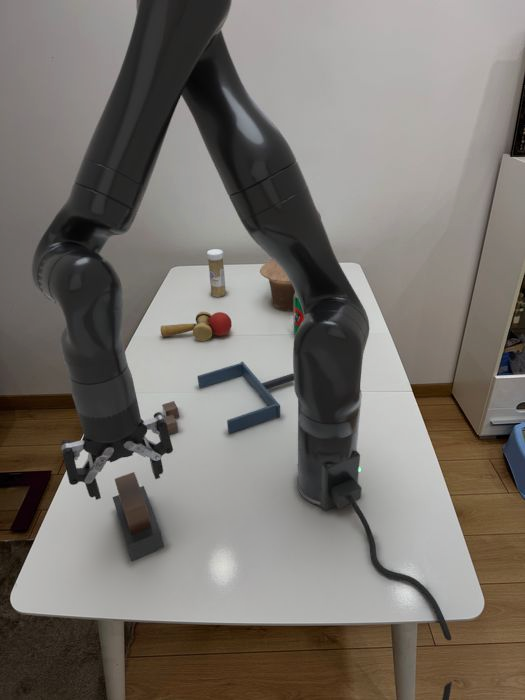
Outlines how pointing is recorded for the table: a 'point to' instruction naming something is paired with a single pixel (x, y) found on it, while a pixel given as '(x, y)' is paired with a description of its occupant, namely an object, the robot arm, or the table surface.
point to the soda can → (297, 313)
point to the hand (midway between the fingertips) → (127, 484)
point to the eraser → (136, 518)
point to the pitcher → (279, 285)
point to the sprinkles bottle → (216, 272)
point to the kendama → (202, 326)
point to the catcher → (259, 387)
